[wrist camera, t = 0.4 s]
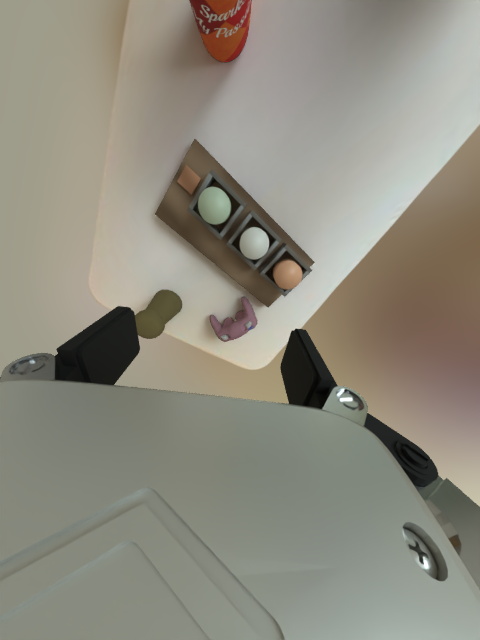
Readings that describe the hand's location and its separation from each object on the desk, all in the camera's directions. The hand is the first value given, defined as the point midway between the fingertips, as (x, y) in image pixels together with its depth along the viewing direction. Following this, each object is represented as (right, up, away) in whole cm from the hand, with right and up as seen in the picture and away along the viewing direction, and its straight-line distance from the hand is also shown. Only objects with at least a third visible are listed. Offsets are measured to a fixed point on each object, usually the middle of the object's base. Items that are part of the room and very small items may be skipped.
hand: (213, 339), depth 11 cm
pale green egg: (-2, +18, +17) cm, 25 cm away
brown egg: (+10, +10, +21) cm, 25 cm away
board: (+1, +16, +23) cm, 28 cm away
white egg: (+4, +14, +19) cm, 24 cm away
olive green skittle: (-14, +5, +30) cm, 33 cm away
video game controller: (0, +2, +31) cm, 31 cm away
